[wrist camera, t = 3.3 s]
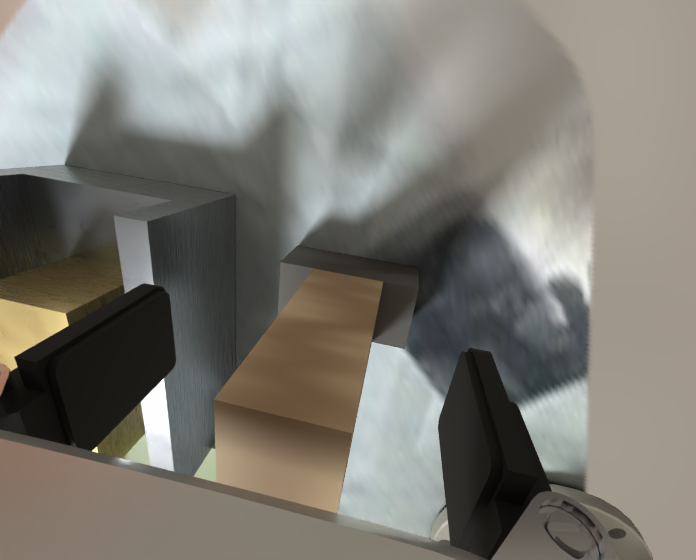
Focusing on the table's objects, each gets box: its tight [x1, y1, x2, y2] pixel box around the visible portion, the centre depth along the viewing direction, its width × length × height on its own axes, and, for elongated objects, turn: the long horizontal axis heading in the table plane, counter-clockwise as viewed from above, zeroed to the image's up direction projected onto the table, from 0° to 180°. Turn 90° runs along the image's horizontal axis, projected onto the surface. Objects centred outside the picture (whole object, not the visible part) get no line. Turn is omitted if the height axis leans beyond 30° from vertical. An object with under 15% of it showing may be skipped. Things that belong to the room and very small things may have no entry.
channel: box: [0, 165, 236, 476], centre depth 17 cm, size 9×14×6 cm
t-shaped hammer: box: [214, 246, 419, 513], centre depth 12 cm, size 6×3×10 cm, turn 82°
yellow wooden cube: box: [0, 256, 125, 371], centre depth 15 cm, size 4×4×4 cm
